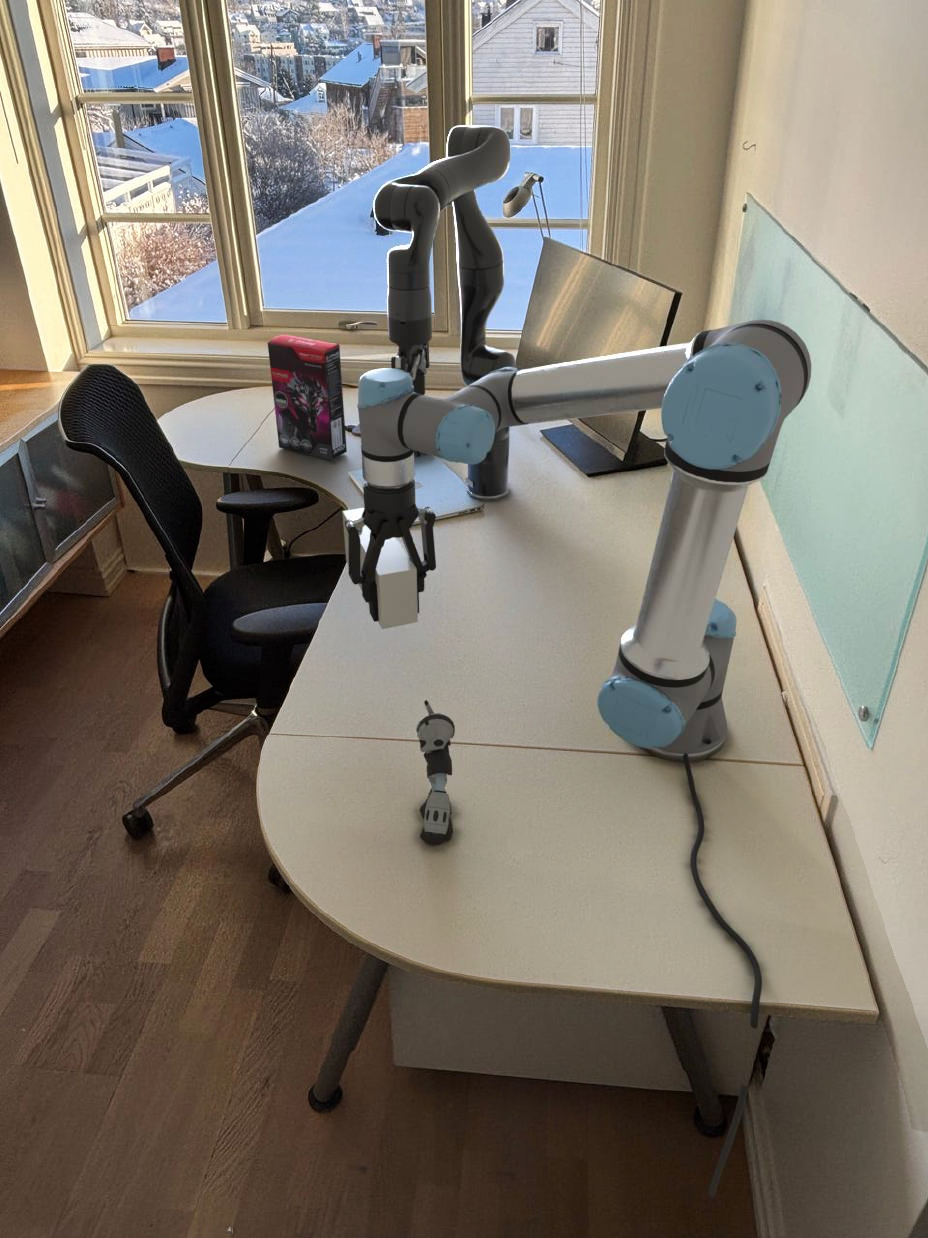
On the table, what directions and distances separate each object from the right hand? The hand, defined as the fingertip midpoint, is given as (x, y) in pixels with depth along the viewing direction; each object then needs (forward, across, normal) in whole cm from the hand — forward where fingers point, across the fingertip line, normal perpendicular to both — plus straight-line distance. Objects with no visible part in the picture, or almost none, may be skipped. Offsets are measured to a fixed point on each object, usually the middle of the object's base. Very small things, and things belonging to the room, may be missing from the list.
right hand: (394, 612), depth 146 cm
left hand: (-20, -15, -36) cm, 43 cm away
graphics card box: (+13, -7, -97) cm, 98 cm away
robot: (+14, +4, +33) cm, 36 cm away
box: (+1, 0, -8) cm, 8 cm away
